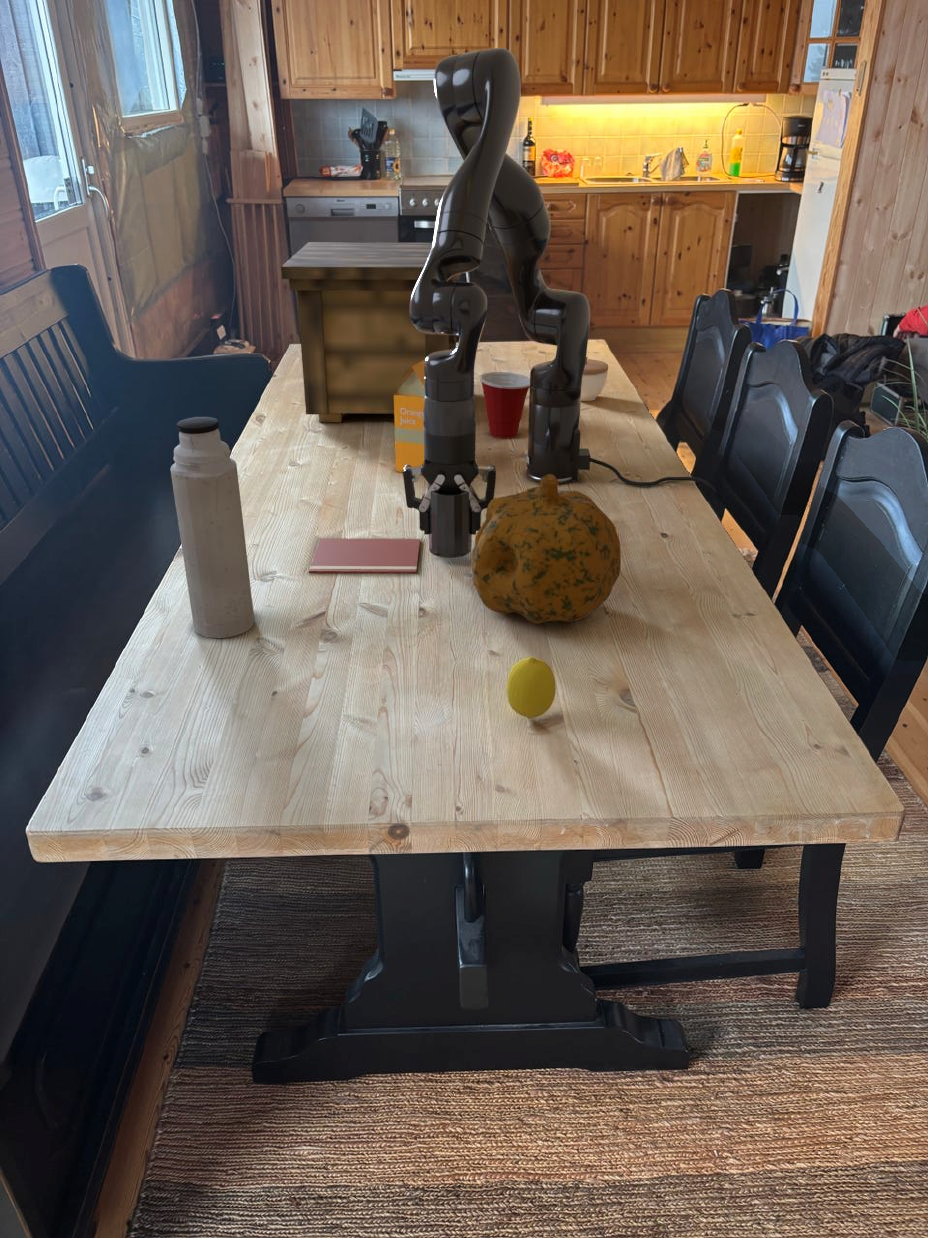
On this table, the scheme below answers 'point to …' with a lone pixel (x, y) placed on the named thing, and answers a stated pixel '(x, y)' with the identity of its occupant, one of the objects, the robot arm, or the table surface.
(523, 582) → the decorative pumpkin
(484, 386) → the plastic cup
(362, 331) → the crate
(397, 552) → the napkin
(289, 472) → the table surface
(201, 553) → the thermos bottle
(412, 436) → the orange juice
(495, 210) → the robot arm
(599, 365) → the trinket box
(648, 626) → the table surface
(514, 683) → the lemon
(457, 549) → the black cup
